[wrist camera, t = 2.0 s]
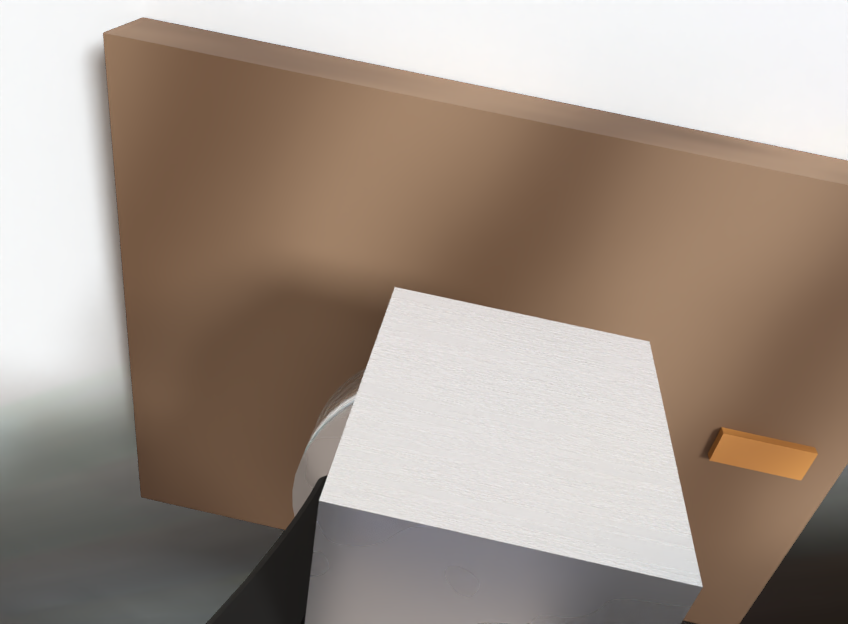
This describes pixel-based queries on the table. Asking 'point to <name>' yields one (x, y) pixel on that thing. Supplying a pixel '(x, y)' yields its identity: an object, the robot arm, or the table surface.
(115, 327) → the table surface
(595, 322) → the mount plate
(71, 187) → the table surface
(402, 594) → the grey and orange block
